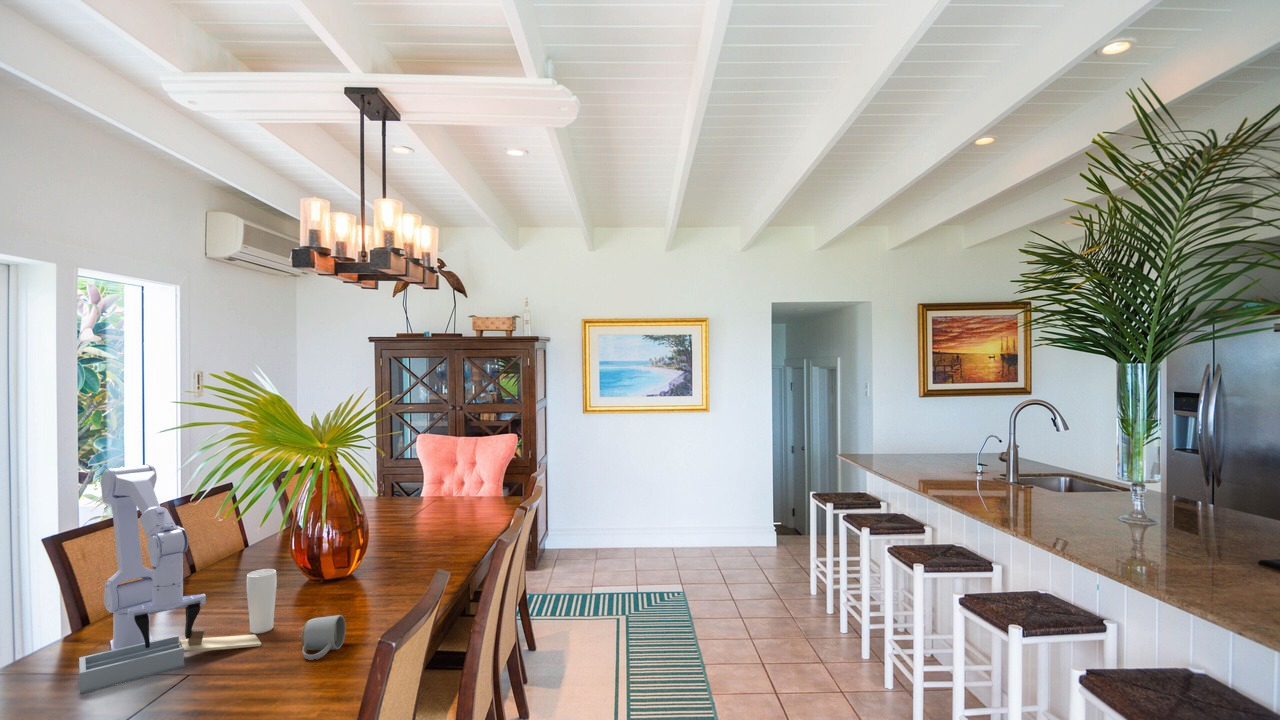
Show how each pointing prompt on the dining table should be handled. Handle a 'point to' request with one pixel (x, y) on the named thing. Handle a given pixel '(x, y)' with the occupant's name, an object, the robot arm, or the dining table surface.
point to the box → (129, 663)
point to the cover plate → (217, 641)
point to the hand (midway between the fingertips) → (167, 641)
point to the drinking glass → (261, 599)
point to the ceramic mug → (323, 635)
